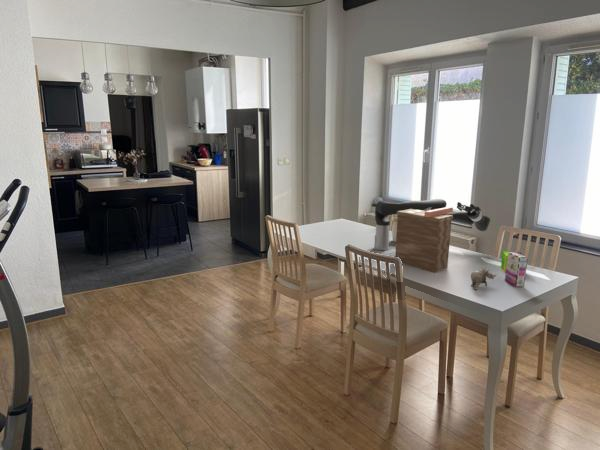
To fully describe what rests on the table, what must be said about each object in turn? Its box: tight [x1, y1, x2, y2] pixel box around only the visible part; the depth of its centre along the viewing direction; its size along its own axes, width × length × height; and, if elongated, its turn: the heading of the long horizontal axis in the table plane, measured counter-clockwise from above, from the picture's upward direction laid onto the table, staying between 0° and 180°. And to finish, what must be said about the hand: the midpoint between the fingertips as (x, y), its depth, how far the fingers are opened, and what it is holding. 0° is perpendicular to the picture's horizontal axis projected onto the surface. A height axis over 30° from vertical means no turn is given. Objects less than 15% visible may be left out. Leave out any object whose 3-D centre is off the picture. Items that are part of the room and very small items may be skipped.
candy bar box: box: [504, 251, 529, 288], centre depth 236 cm, size 11×5×16 cm, turn 5°
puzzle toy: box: [500, 251, 525, 273], centre depth 260 cm, size 10×10×10 cm
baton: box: [424, 206, 454, 217], centre depth 260 cm, size 26×3×3 cm, turn 132°
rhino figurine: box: [470, 267, 497, 291], centre depth 232 cm, size 8×14×15 cm
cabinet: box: [394, 209, 454, 273], centre depth 266 cm, size 15×29×32 cm, turn 42°
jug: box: [390, 216, 398, 243], centre depth 324 cm, size 15×16×25 cm
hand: (464, 204), depth 279 cm, fingers open, 8 cm apart
